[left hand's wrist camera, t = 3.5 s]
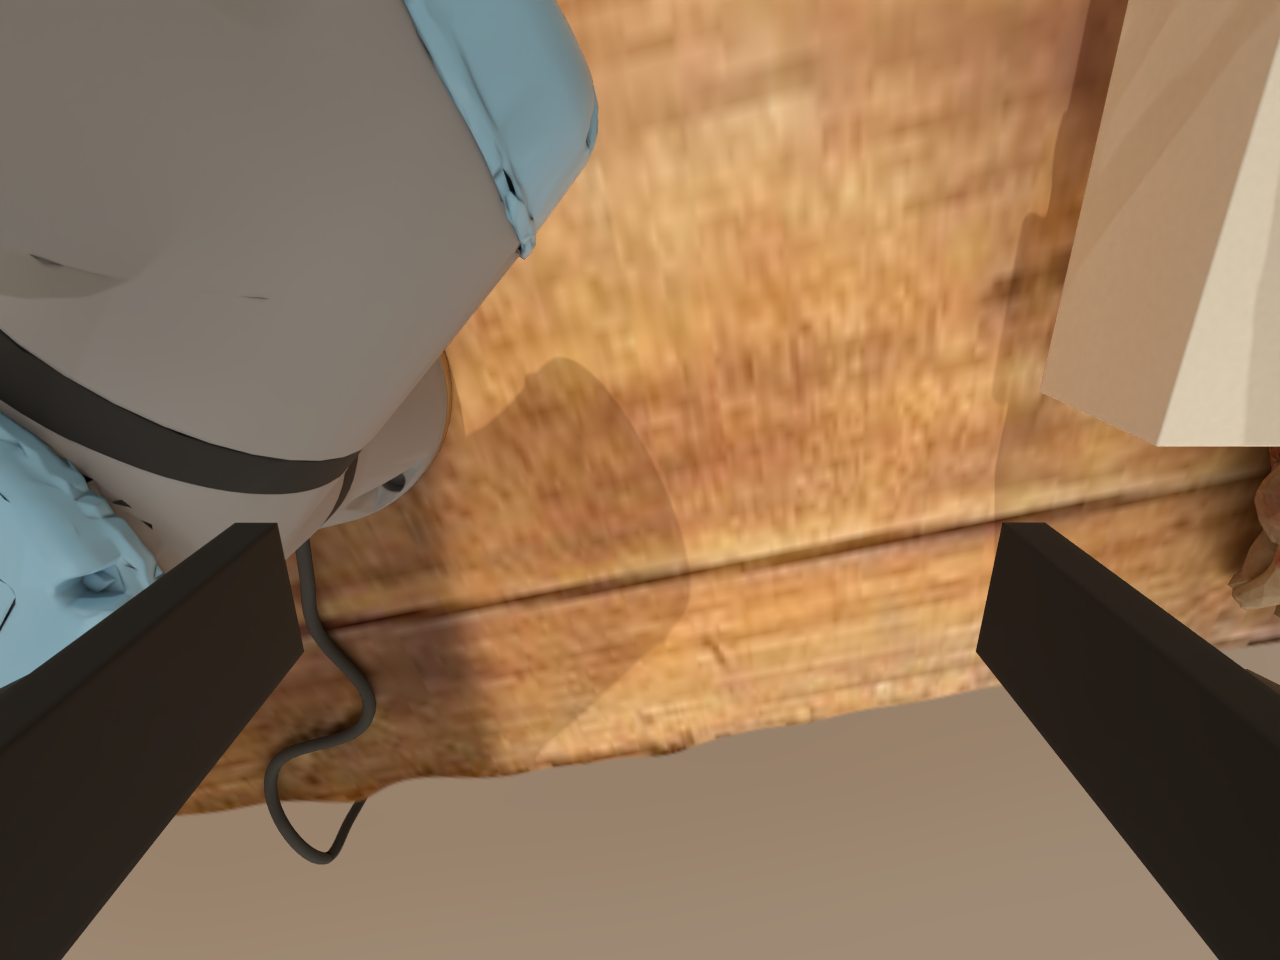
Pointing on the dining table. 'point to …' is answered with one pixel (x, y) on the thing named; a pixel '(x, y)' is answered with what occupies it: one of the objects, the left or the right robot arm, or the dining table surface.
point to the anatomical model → (1263, 548)
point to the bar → (1180, 234)
